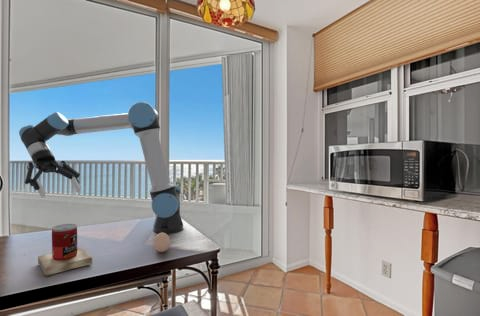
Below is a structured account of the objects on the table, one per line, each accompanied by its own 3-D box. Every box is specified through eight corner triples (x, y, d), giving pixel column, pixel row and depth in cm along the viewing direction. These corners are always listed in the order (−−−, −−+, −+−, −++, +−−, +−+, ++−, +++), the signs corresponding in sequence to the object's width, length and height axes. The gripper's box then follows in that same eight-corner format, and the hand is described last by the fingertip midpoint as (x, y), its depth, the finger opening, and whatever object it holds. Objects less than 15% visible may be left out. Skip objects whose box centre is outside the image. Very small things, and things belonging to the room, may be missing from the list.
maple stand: (81, 254, 110) (81, 246, 110) (92, 265, 100) (92, 257, 100) (38, 264, 100) (37, 256, 100) (45, 277, 90) (45, 268, 90)
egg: (172, 248, 117) (172, 230, 117) (167, 254, 110) (167, 235, 110) (156, 248, 117) (156, 230, 117) (151, 254, 111) (151, 235, 110)
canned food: (65, 261, 95) (65, 230, 95) (46, 259, 97) (45, 228, 97) (82, 253, 103) (82, 224, 103) (64, 251, 104) (63, 223, 104)
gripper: (68, 159, 130) (88, 193, 123) (2, 162, 108) (23, 204, 102) (74, 148, 127) (95, 182, 120) (8, 149, 105) (29, 190, 99)
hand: (62, 192), depth 111 cm, fingers open, 13 cm apart
